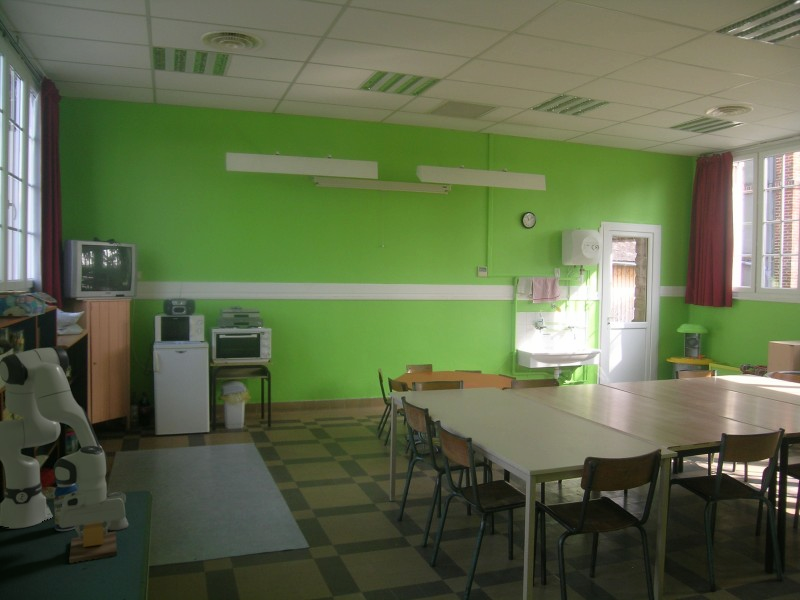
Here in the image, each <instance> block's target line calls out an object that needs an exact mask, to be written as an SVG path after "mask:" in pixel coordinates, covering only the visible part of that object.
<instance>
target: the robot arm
mask: <svg viewBox="0 0 800 600" xmlns="http://www.w3.org/2000/svg"><path fill="white" fill-rule="evenodd" d="M69 365H70V360H69V355H68V352H67V350H65V349H64V348H63V347H61V346H49V347H40V348H39V347H38V348H32V349H29V350H26V351H21V352H17V353H10V354H9V355H5V356H4V357H2V358H1V359H0V377H1V380H2V381H3V382H4V383H5V399H4V400H5V402H4V406H5V408H6V409H7V410H8V411H9V412H10V413H11V414H14V415H17V416H20V417H22V418H17V419H10V420H1V421H0V461H1V463H2V464H3V465H2V466H3V468H4V473H5V486H4V500H2V501H1V502H0V526H4V527H9V528H8V529H23V528H28V527H32V526H33V527H34V526H35V525H39V524H41V523H42V521H43V522H45V521H47V519H48V520H50V518H51V519H53V518H52V517H53V516H54V515H53V513H52V512H51V509H50V507H49V505H48V504H47V497H46V496H45V495H44V494H43V492H42V491H43V489H42V488H43V484H42V481H41V472H40V471H41V468H40V467H41V466H40V463H39V461H38V460H37V459H36V458H34V457H32V456H28V455H25V454H22V453H21V450H22V449H25V448H26V449H27V448H33V447H41V446H45V445H49V444H50V443H53V442H56V441H57V440H58V438H59V437H60V434H61V424H65V425H68V426H69V427H70V428H72V430H73V431H74V434H75V436H76V438H77V440H78V443H79V445H80V447H81V448H79V450H77V451H76V452H74V453H73V452H72V453H71V454H68V455H65V456H63V457H60V458H58V459H57V460H56V462H55V463H54V465H53V476H54V478H55V481H56V480H57V481H58V482H59V483H60V484H63V485H70V484H76V485H77V486H78V490H77V491H75V492H72V493H70V494H67V495H65V497H64V499H63V505H62V508H61V512H60V519H59V526H60V527H61V528H66V527H73V526H75V529H74V530H75V532H76V533H77V534H78V537H79V538H83V530H82V531H81V529H80V526H83V525H86V524H93V523H100V522H103V523H104V522H106V526H105V527H103V535H104V534H108V533H109V532H108V531H109V529H108V528H109V526H110V525H111V521H113V520H120V519H123V518H124V517H126V508H125V503H126V502H127V495H126V493H124V492H121V491H116V492H108V491H107V481H106V474H107V466H108V463H109V462H108V460H109V459H108V456H107V454H106V452H105V451H104V449H103V447H102V446H101V444H100V442H99V439H98V437H97V434H96V432H95V429H94V427H93V425H92V423H91V420H90V419H89V416H88V414H87V412H86V411H85V408H83V406H81V405H79V404H78V402H77V401H76V399H75V398H74V395H73V393H72V391H71V387H70V383H69V381H68V380H69V379H68V378H67V376H66V373H65V372H67V370H68V368H69ZM60 423H61V424H60ZM44 520H45V521H44ZM4 527H3V528H4Z"/></svg>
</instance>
